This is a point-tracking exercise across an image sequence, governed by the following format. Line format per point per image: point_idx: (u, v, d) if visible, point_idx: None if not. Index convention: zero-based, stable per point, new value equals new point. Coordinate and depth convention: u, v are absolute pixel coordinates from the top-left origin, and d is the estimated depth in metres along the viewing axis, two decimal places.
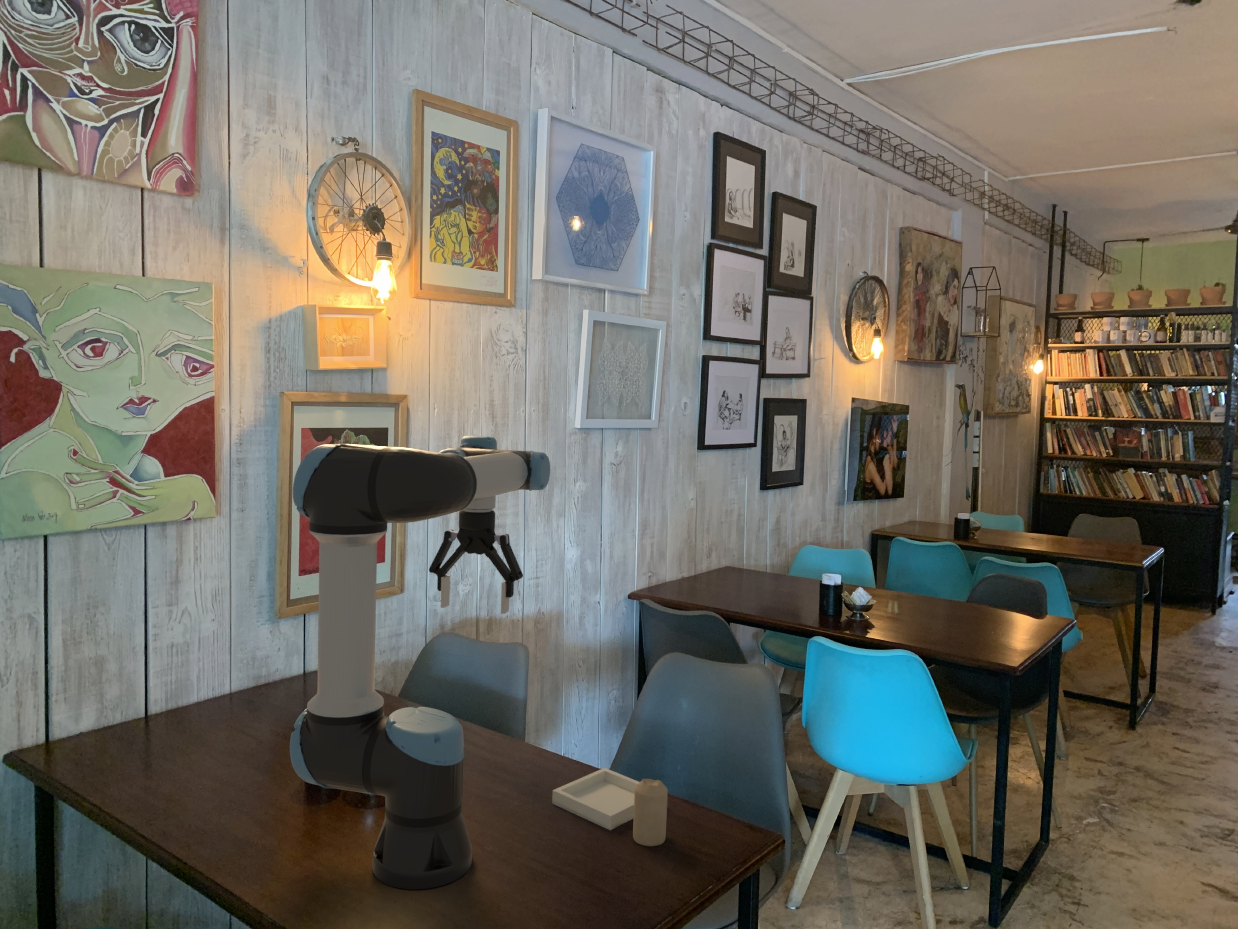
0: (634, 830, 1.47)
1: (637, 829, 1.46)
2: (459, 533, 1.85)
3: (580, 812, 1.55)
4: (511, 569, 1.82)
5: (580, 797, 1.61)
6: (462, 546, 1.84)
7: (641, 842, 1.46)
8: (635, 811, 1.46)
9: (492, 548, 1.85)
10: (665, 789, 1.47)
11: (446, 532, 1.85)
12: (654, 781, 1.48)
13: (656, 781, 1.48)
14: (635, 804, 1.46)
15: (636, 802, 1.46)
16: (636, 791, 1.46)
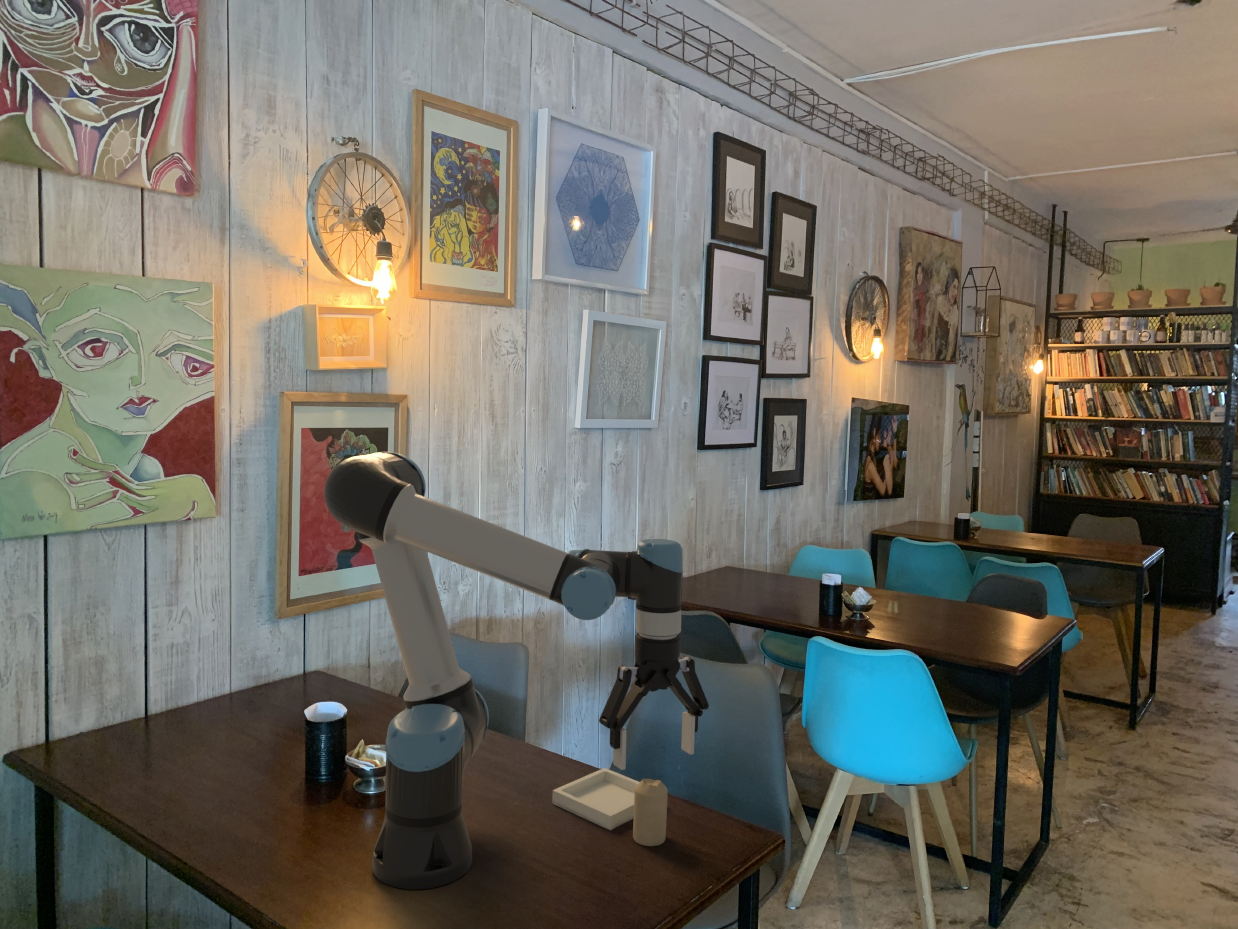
0: (634, 830, 1.47)
1: (637, 829, 1.46)
2: (643, 668, 1.43)
3: (580, 812, 1.55)
4: (701, 698, 1.50)
5: (580, 797, 1.61)
6: (650, 684, 1.43)
7: (641, 842, 1.46)
8: (635, 811, 1.46)
9: None
10: (665, 789, 1.47)
11: (628, 671, 1.41)
12: (654, 781, 1.48)
13: (656, 781, 1.48)
14: (635, 804, 1.46)
15: (636, 802, 1.46)
16: (636, 791, 1.46)
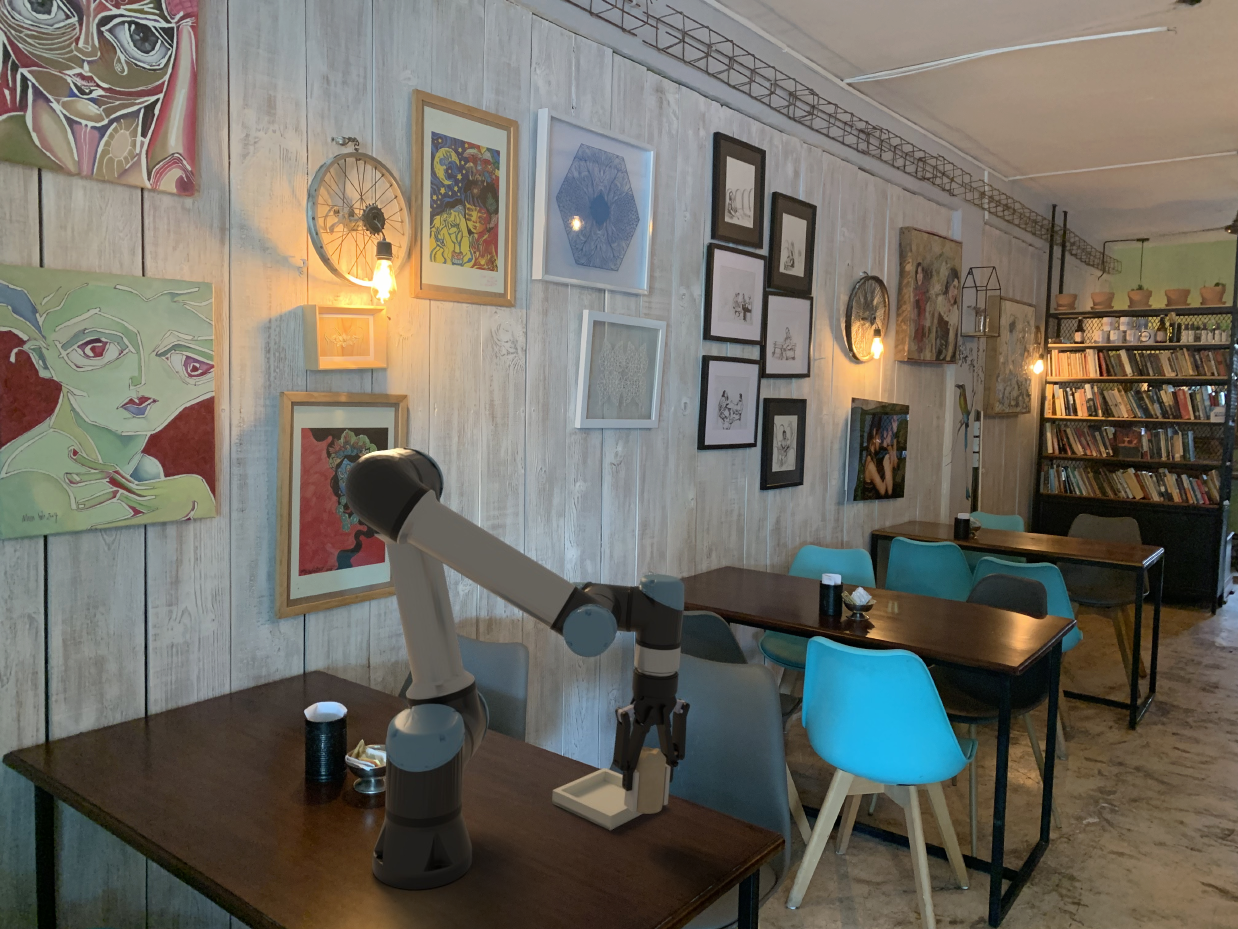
0: None
1: None
2: (638, 705, 1.43)
3: (580, 812, 1.55)
4: (681, 746, 1.49)
5: (580, 797, 1.61)
6: (649, 721, 1.44)
7: (638, 809, 1.45)
8: None
9: None
10: (663, 757, 1.46)
11: (625, 714, 1.42)
12: (653, 749, 1.48)
13: (655, 749, 1.48)
14: None
15: None
16: None
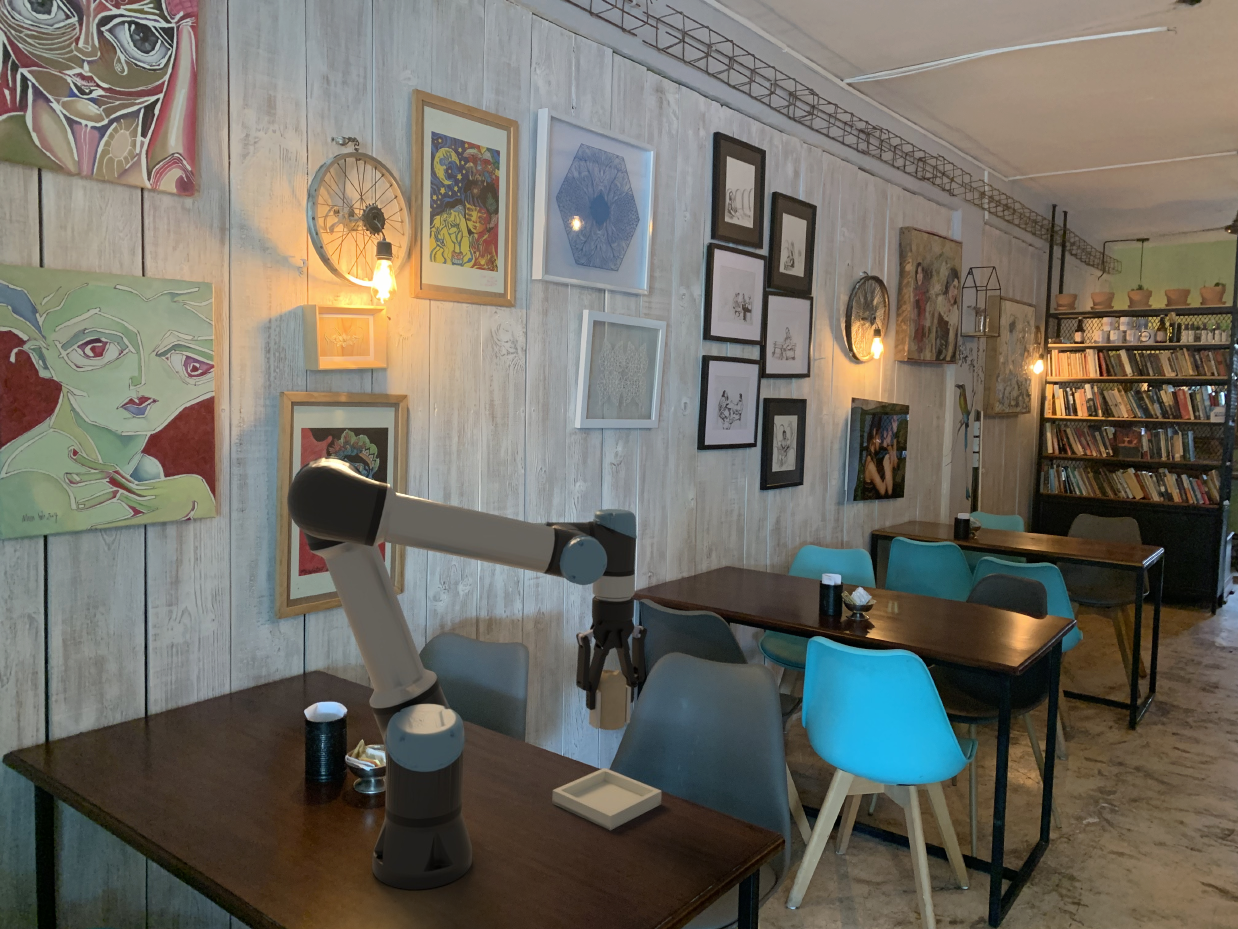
0: None
1: None
2: (597, 629, 1.55)
3: (580, 812, 1.55)
4: (640, 668, 1.60)
5: (580, 797, 1.61)
6: (608, 644, 1.55)
7: (601, 726, 1.56)
8: None
9: None
10: (624, 678, 1.57)
11: (585, 638, 1.53)
12: (614, 672, 1.59)
13: (616, 671, 1.59)
14: None
15: None
16: None
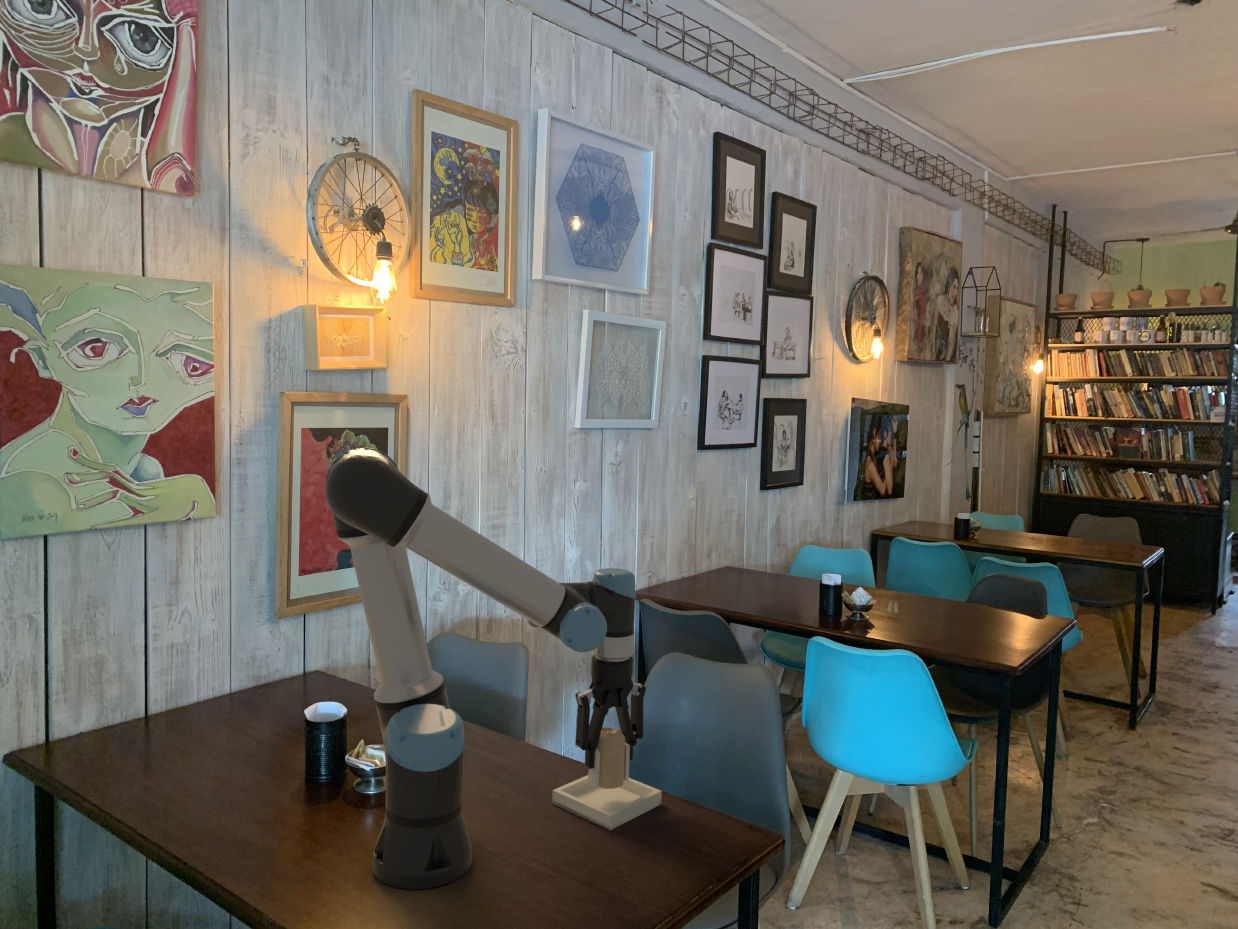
0: None
1: None
2: (596, 689, 1.56)
3: (580, 812, 1.55)
4: (639, 725, 1.61)
5: (580, 797, 1.61)
6: (607, 703, 1.56)
7: (600, 785, 1.57)
8: None
9: None
10: (623, 736, 1.58)
11: (584, 698, 1.54)
12: (613, 729, 1.60)
13: (615, 729, 1.60)
14: None
15: (596, 748, 1.58)
16: None
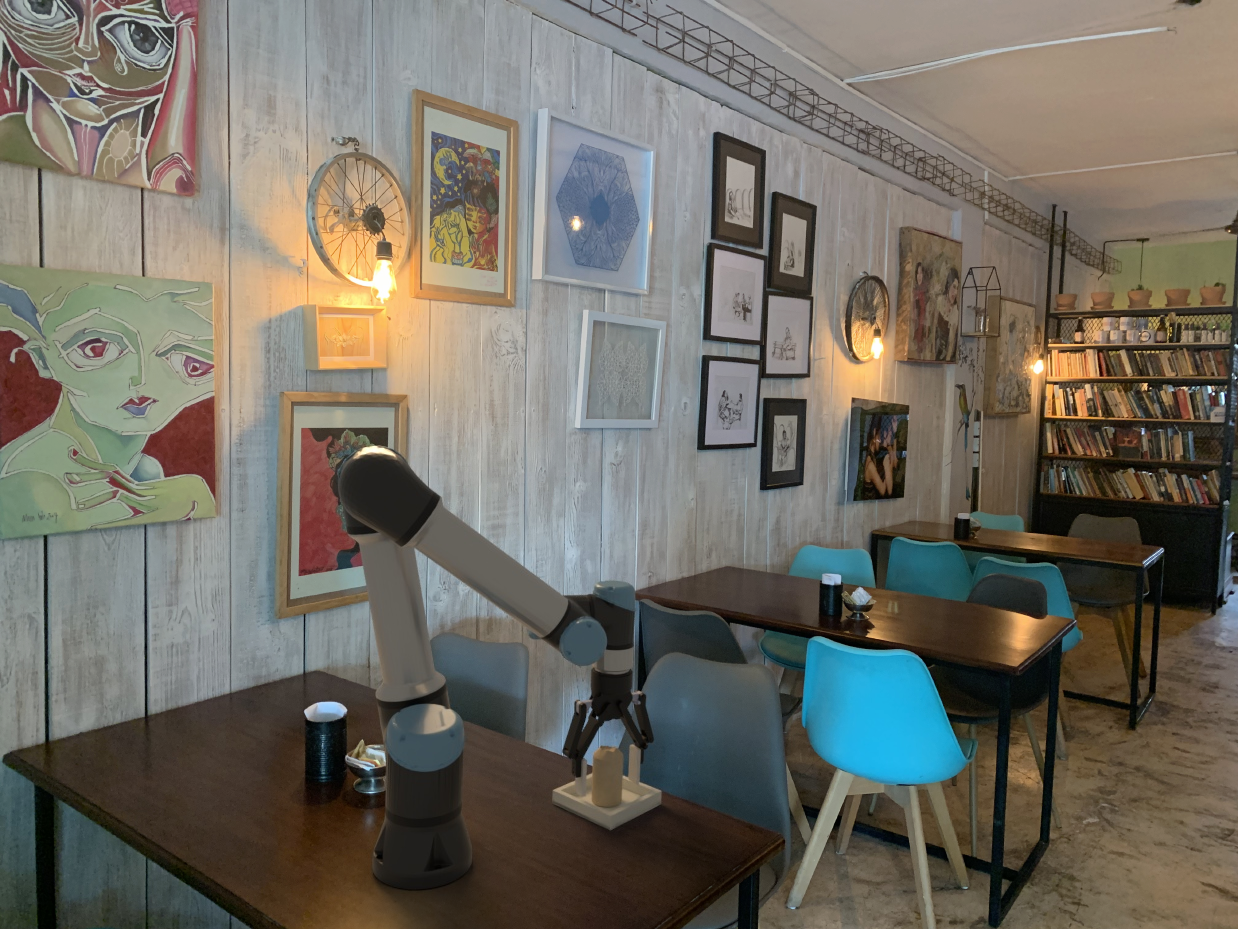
0: (592, 793, 1.59)
1: (595, 791, 1.58)
2: (597, 701, 1.56)
3: (580, 812, 1.55)
4: (647, 731, 1.62)
5: (580, 797, 1.61)
6: (604, 715, 1.56)
7: (598, 803, 1.57)
8: (593, 775, 1.58)
9: None
10: (621, 755, 1.59)
11: (583, 705, 1.54)
12: (611, 748, 1.60)
13: (613, 748, 1.60)
14: (593, 768, 1.58)
15: (594, 766, 1.58)
16: (594, 756, 1.58)
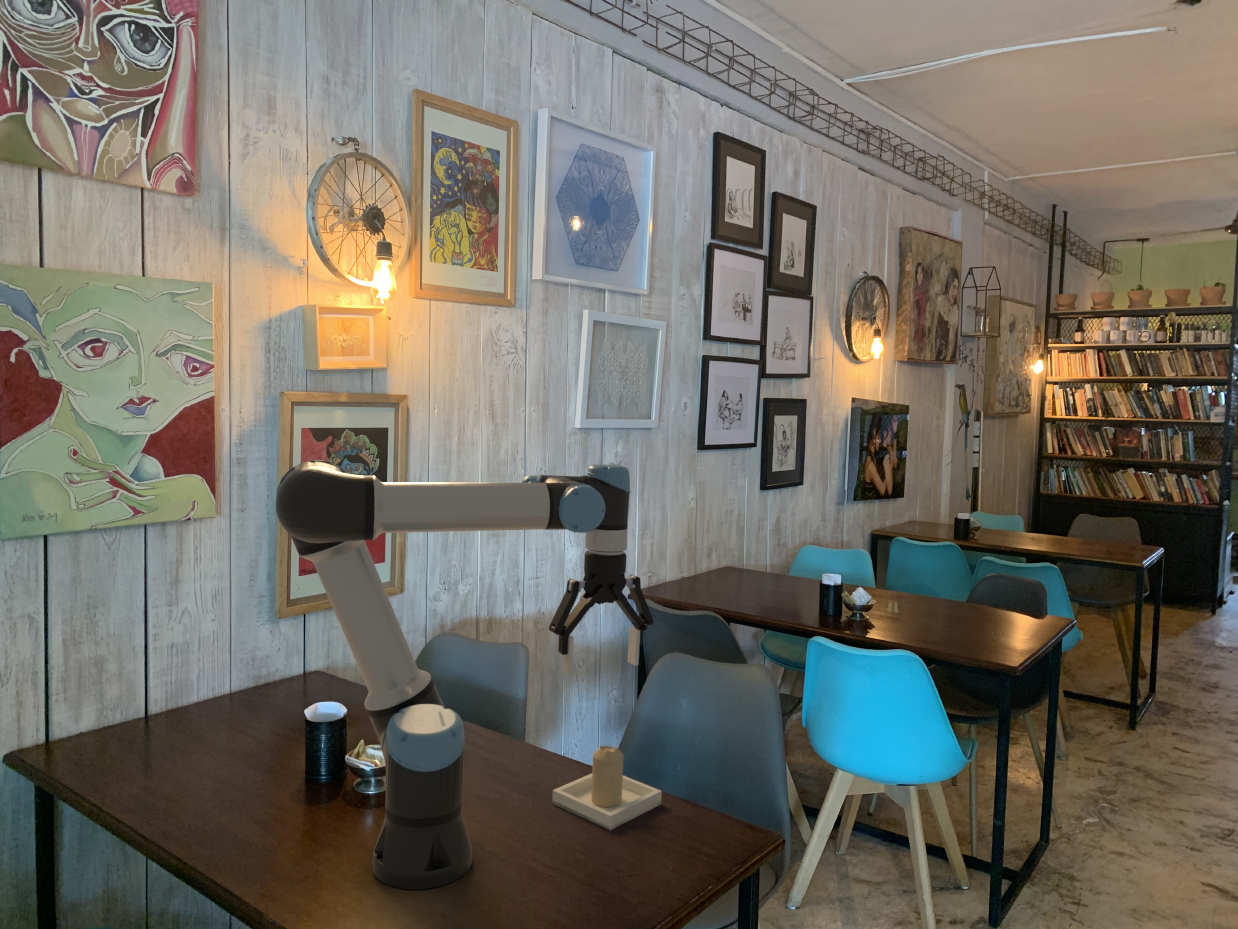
0: (592, 793, 1.59)
1: (595, 792, 1.58)
2: (590, 581, 1.55)
3: (580, 812, 1.55)
4: (646, 613, 1.62)
5: (580, 797, 1.61)
6: (596, 596, 1.55)
7: (598, 803, 1.57)
8: (593, 775, 1.58)
9: None
10: (621, 755, 1.59)
11: (576, 583, 1.54)
12: (611, 748, 1.60)
13: (613, 748, 1.60)
14: (593, 769, 1.58)
15: (594, 767, 1.58)
16: (594, 756, 1.58)
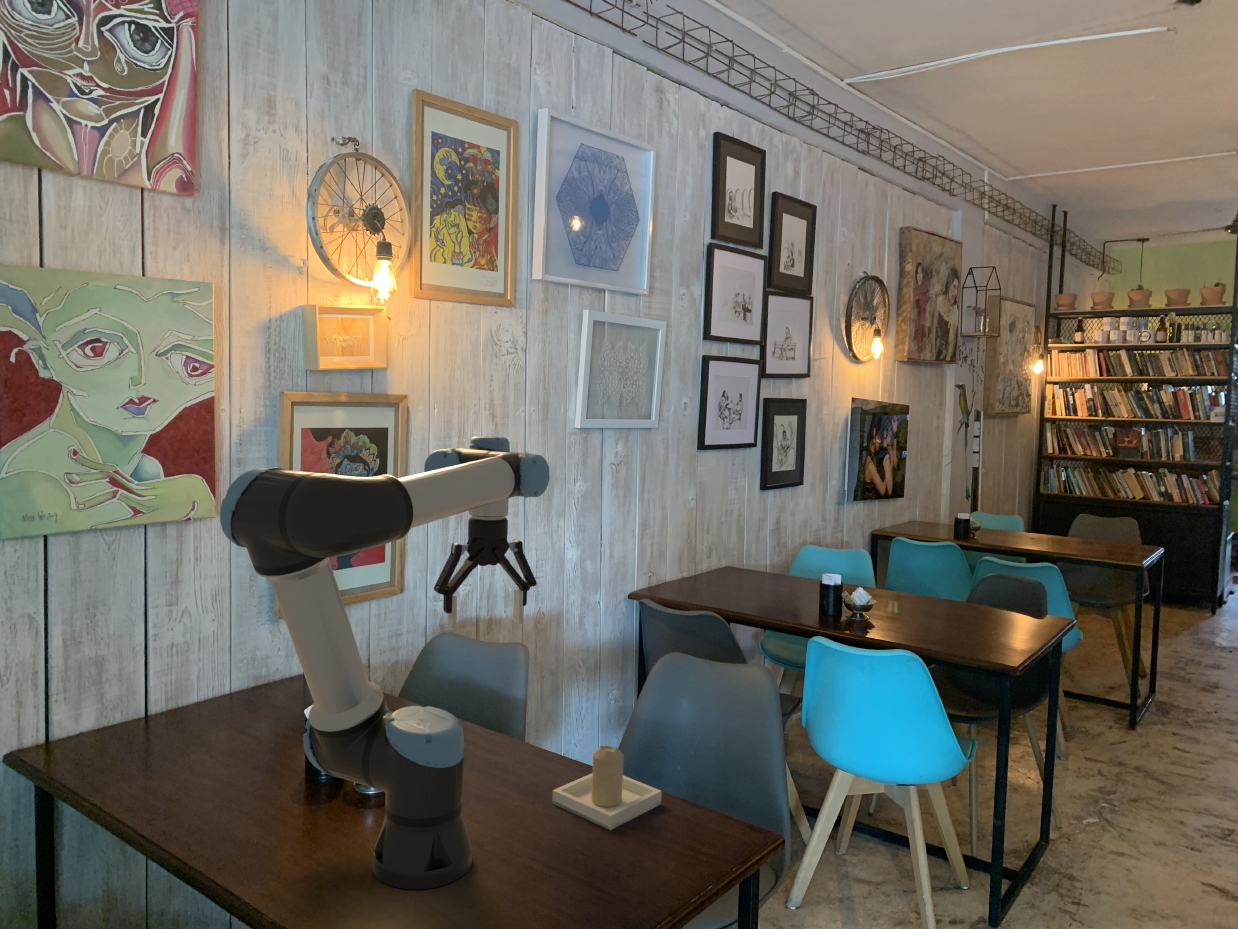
0: (592, 793, 1.59)
1: (595, 791, 1.58)
2: (472, 545, 1.66)
3: (580, 812, 1.55)
4: (529, 575, 1.73)
5: (580, 797, 1.61)
6: (479, 559, 1.67)
7: (598, 803, 1.57)
8: (593, 775, 1.58)
9: None
10: (621, 755, 1.59)
11: (459, 546, 1.65)
12: (611, 748, 1.60)
13: (613, 748, 1.60)
14: (593, 769, 1.58)
15: (594, 767, 1.58)
16: (594, 756, 1.58)
